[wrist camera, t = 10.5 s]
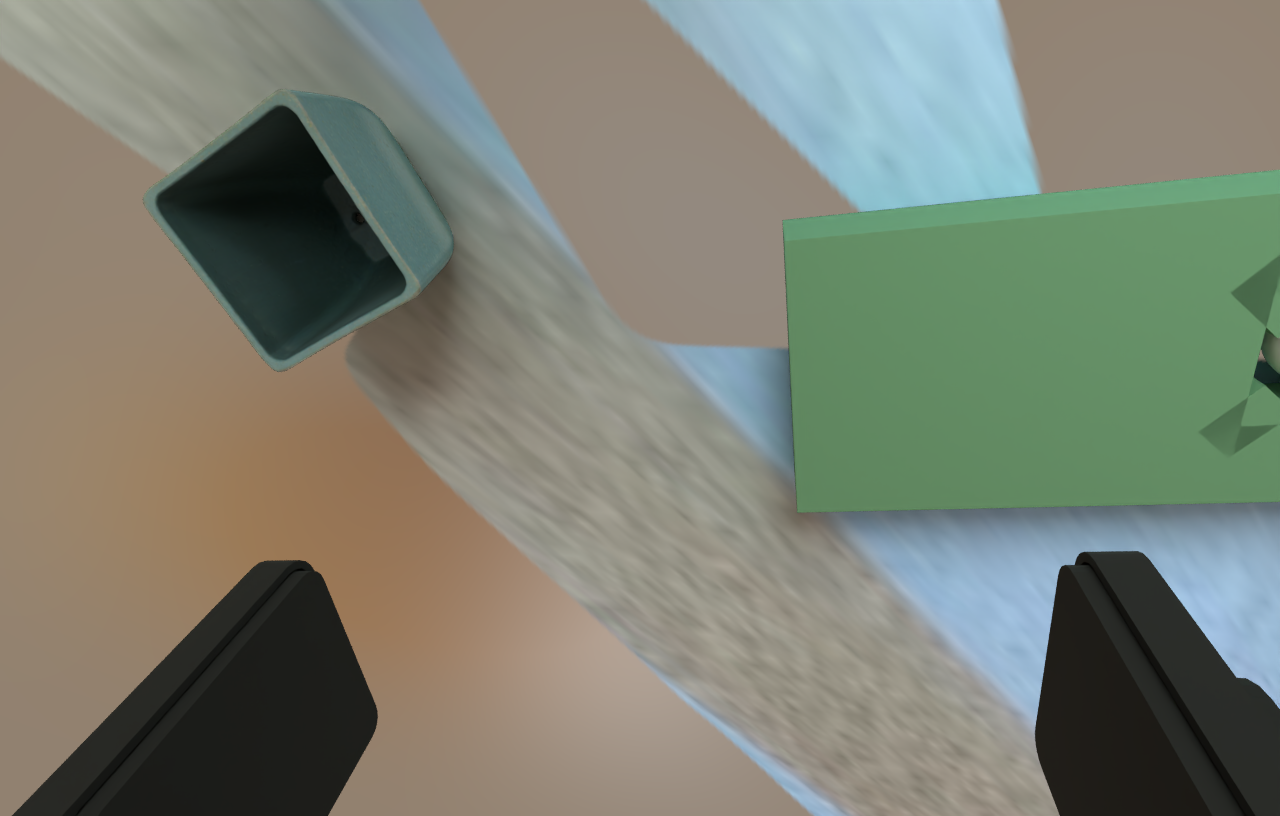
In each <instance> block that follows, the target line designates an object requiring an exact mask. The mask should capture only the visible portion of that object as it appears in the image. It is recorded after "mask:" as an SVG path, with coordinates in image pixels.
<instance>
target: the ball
mask: <svg viewBox="0 0 1280 816" xmlns="http://www.w3.org/2000/svg"><path fill="white" fill-rule="evenodd" d="M1261 350H1262V353H1263V356H1264V358H1265V359H1266V361H1267V362H1268V364H1269V365H1270V366H1271V367H1272V368H1273V369H1274V370H1275V371H1276V372H1278V373H1279V374H1280V337H1279V338H1276V337H1275V336H1273V335H1271V334H1269V333H1268V332H1266V331H1265V334H1264V338H1263V342H1262V346H1261Z"/></svg>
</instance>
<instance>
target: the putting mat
mask: <svg viewBox="0 0 1280 816" xmlns="http://www.w3.org/2000/svg"><path fill="white" fill-rule="evenodd" d="M783 238H784V260H785V279H786V280H785V281H786V300H787V301H786V302H787V321H788V343H789V364H790V385H791V406H792V427H793V448H794V468H795V484H796V499H797V513H801V512H846V511H891V510H936V509H981V508H1026V507H1071V506H1116V505H1162V504H1207V503H1252V502H1280V383H1268V384H1262V383H1261V382H1260V381H1258V380H1257V379H1255V378H1254V373H1255V369H1256V365H1257V361H1258V357H1259V353H1260V350H1261V346H1262V342H1263V338H1264V334H1265V331H1266V332H1268V333H1269V334H1271V335H1273V336H1275V337H1276V338H1279V337H1280V170H1273V171H1264V172H1254V173H1244V174H1234V175H1224V176H1215V177H1205V178H1195V179H1185V180H1174V181H1165V182H1155V183H1145V184H1135V185H1125V186H1116V187H1105V188H1095V189H1085V190H1076V191H1066V192H1056V193H1046V194H1036V195H1026V196H1016V197H1006V198H997V199H987V200H977V201H967V202H957V203H947V204H937V205H927V206H918V207H908V208H898V209H888V210H878V211H868V212H858V213H848V214H839V215H829V216H819V217H809V218H799V219H790V220H783Z"/></svg>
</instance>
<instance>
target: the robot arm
mask: <svg viewBox="0 0 1280 816" xmlns="http://www.w3.org/2000/svg"><path fill="white" fill-rule="evenodd" d="M377 718H378V715H377V708H376V705H375V702H374V700H373V697H372V695H371V692H370V690H369V688H368V685H367V683H366V680H365V678H364V675H363V673H362V671H361V668H360V666H359V664H358V661H357V659H356V656H355V654H354V651H353V649H352V646H351V644H350V642H349V639H348V637H347V634H346V632H345V630H344V627H343V625H342V622H341V620H340V617H339V615H338V613H337V610H336V608H335V605H334V603H333V600H332V598H331V596H330V593H329V591H328V588H327V586H326V583H325V581H324V579H323V577H322V575H321V574H320V573H318V572H316V571H314V569H313V568H312V566H311V565H310V564H309V563H307V562H306V561H300V560H293V561H291V560H290V561H289V560H288V561H264V562H260V563H258V564H257V565H256V566H254V567H253V568H252V569H251V570H250V571H249V572H248V573H247V574H246V575H245V576H244V577H243V578H242V579H241V580H240V582H238V584H237V585H236V586H235V587H234V588H233V589H232V590H231V591H230V592H229V593H228V594H227V595H226V596H225V597H224V598H223V599H222V600H221V601H220V602H219V603H218V604H217V605H216V606H215V607H214V608H213V609H212V610H211V611H210V612H209V613H208V614H207V615H206V616H205V618H204V619H203V620H202V621H201V622H200V623H199V624H198V625H197V626H196V627H195V628H194V629H193V630H192V631H191V632H190V633H189V634H188V635H187V636H186V637H185V638H184V639H183V640H182V641H181V642H180V643H179V644H178V645H177V646H176V647H175V648H174V649H173V650H172V652H171V653H170V654H169V655H168V656H167V657H166V658H165V659H164V660H163V661H162V662H161V663H160V664H159V665H158V666H157V667H156V668H155V669H154V670H153V671H152V672H151V673H150V674H149V675H148V676H147V677H146V678H145V679H144V680H143V682H141V683H140V684H139V685H138V686H137V688H136V689H135V690H134V691H133V692H132V693H131V694H130V695H129V696H128V697H127V698H126V699H125V700H124V701H123V702H122V703H121V704H120V705H119V706H118V707H117V708H116V709H115V710H114V711H113V712H112V713H111V714H110V715H109V716H108V717H107V718H106V719H105V721H104V722H103V723H102V724H101V725H100V726H99V727H98V728H97V729H96V730H95V731H94V732H93V733H92V734H91V735H90V736H89V737H88V738H87V739H86V740H85V741H84V742H83V743H82V744H81V745H80V746H79V747H78V748H77V749H76V750H75V751H74V752H73V754H71V756H70V757H69V758H68V759H67V760H66V761H65V762H64V763H63V764H62V765H61V766H60V767H59V768H58V769H57V770H56V771H55V772H54V773H53V774H52V775H51V776H50V777H49V778H48V779H47V780H46V781H45V782H44V783H43V784H42V785H41V786H40V787H39V788H38V790H37V791H36V792H35V793H34V794H33V795H32V796H31V797H30V798H29V799H28V800H27V801H26V802H25V803H24V804H23V805H22V806H21V807H20V808H19V809H18V810H17V811H16V812H15V813H14V814H13V815H12V816H328V815H329V813H330V811H331V809H332V807H333V806H334V804H335V802H336V800H337V798H338V797H339V795H340V793H341V791H342V790H343V788H344V786H345V784H346V782H347V781H348V779H349V777H350V776H351V774H352V772H353V770H354V768H355V767H356V765H357V763H358V761H359V759H360V758H361V756H362V754H363V752H364V751H365V749H366V747H367V745H368V744H369V742H370V740H371V738H372V736H373V734H374V732H375V729H376V725H377ZM1035 741H1036V748H1037V753H1038V758H1039V761H1040V764H1041V767H1042V770H1043V772H1044V775H1045V778H1046V780H1047V783H1048V786H1049V788H1050V791H1051V793H1052V796H1053V799H1054V801H1055V804H1056V807H1057V809H1058V812H1059V815H1060V816H1280V709H1279V708H1278V707H1277V705H1276V704H1275V703H1274V701H1273V700H1272V699H1271V698H1270V697H1269V696H1268V695H1267V694H1266V693H1265V692H1264V691H1263V689H1262V688H1261V687H1260V686H1258V685H1257V684H1255V683H1253V682H1252V681H1250V680H1248V679H1246V678H1236V676H1235V675H1234V674H1233V672H1232V671H1231V670H1230V668H1229V667H1228V666H1227V664H1226V663H1225V662H1224V660H1223V659H1222V658H1221V656H1220V655H1219V653H1218V652H1217V651H1216V649H1215V648H1214V647H1213V645H1212V644H1211V643H1210V641H1209V640H1208V639H1207V637H1206V636H1205V634H1204V633H1203V632H1202V630H1201V629H1200V628H1199V626H1198V625H1197V624H1196V622H1195V621H1194V620H1193V618H1192V617H1191V615H1190V614H1189V613H1188V611H1187V610H1186V609H1185V607H1184V606H1183V605H1182V603H1181V602H1180V601H1179V599H1178V598H1177V597H1176V595H1175V594H1174V592H1173V591H1172V590H1171V588H1170V587H1169V586H1168V584H1167V583H1166V582H1165V580H1164V579H1163V578H1162V576H1161V575H1160V573H1159V572H1158V571H1157V569H1156V568H1155V567H1154V565H1153V564H1152V563H1151V561H1150V560H1149V559H1148V558H1147V557H1146V556H1145V555H1144V554H1143V553H1140V552H1138V551H1123V552H1083V553H1080V554H1079V556H1078V557H1077V559H1076V562H1075V565H1064V566H1062V567H1061V569H1060V571H1059V575H1058V580H1057V587H1056V594H1055V600H1054V607H1053V614H1052V620H1051V627H1050V634H1049V641H1048V647H1047V654H1046V661H1045V667H1044V674H1043V681H1042V687H1041V694H1040V701H1039V707H1038V714H1037V721H1036V727H1035Z"/></svg>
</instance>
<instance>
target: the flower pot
mask: <svg viewBox="0 0 1280 816" xmlns="http://www.w3.org/2000/svg"><path fill="white" fill-rule="evenodd" d="M143 204H144V206H145V208H146V209H147V210H148V212H149V213H150V215H151V216H152V217H153V219H154V221H155V222H156V223H157V224H158V225H159V227H160V228H161V229H162V230H163V232H164V233H165V234H166V235H167V237H168V238H169V239H170V240H171V241H172V243H173V244H174V246H175V247H176V248H177V249H178V250H179V252H180V253H181V254H182V256H183V257H184V258H185V259H186V261H187V262H188V263H189V265H190V266H191V267H192V269H193V270H194V271H195V272H196V274H197V275H198V276H199V277H200V279H201V280H202V281H203V282H204V284H205V285H206V286H207V288H208V289H209V290H210V292H211V293H212V294H213V295H214V296H215V298H216V300H217V301H218V302H219V303H220V304H221V306H222V307H223V308H224V310H225V311H226V312H227V313H228V315H229V316H230V318H231V319H232V320H233V322H234V323H235V324H236V326H237V327H238V328H239V329H240V330H241V331H242V333H243V334H244V335H245V337H246V338H247V339H248V341H249V342H250V344H251V345H252V346H253V348H254V349H255V350H256V352H257V353H258V354H259V355H260V356H261V358H262V359H263V360H264V361H265V362H266V363H267V364H268V365H269V366H270V367H271V368H272V369H273V370H274V371H277V372H282V371H286V370H288V369H290V368H292V367H294V366H295V365H297V364H299V363H300V362H302V361H304V360H305V359H307V358H309V357H311V356H312V355H314V354H316V353H317V352H318V351H320V350H322V349H324V348H326V347H327V346H329V345H331V344H332V343H334V342H336V341H338V340H340V339H341V338H343V337H345V336H347V335H348V334H350V333H352V332H354V331H356V330H357V329H359V328H361V327H363V326H365V325H367V324H368V323H370V322H372V321H374V320H376V319H377V318H379V317H381V316H383V315H385V314H387V313H388V312H390V311H392V310H394V309H395V308H397V307H399V306H401V305H403V304H405V303H407V302H409V301H411V300H412V299H414V298H415V297H417V296H418V295H419V294H420V293H421V292H422V291H423V290H424V289H425V287H426V286H427V285H428V284H429V283H430V282H431V281H432V280H433V279H434V278H435V277H436V275H437V274H438V273H439V272H440V271H441V270H442V269H443V268H444V266H445V265H446V264H447V263H448V261H449V260H450V258H451V255H452V253H453V247H454V241H453V235H452V232H451V229H450V227H449V225H448V223H447V221H446V219H445V217H444V216H443V214H442V212H441V211H440V209H439V208H438V206H437V205H436V203H435V201H434V200H433V198H432V197H431V195H430V193H429V192H428V190H427V189H426V187H425V186H424V184H423V183H422V181H421V179H420V178H419V176H418V175H417V173H416V171H415V170H414V168H413V167H412V165H411V163H410V162H409V160H408V158H407V157H406V155H405V154H404V152H403V150H402V149H401V147H400V146H399V144H398V143H397V141H396V140H395V138H394V137H393V135H392V134H391V132H390V131H389V130H388V128H387V127H386V126H385V124H384V123H383V122H382V121H381V120H380V119H379V118H378V117H377V116H376V115H375V114H374V113H373V112H372V111H370V110H369V109H368V108H366V107H364V106H363V105H361V104H359V103H357V102H355V101H352V100H349V99H346V98H341V97H336V96H330V95H323V94H316V93H309V92H301V91H294V90H287V89H280V90H277V91H275V92H274V93H273V94H271V95H270V96H269V97H267V98H266V99H264V100H263V101H262V102H261V103H260V104H259V105H258V106H256V107H255V108H254V109H253V110H251V111H250V112H249V113H248V114H246V115H245V116H244V117H242V118H241V119H240V120H239V121H238V122H237V123H235V124H234V125H233V126H231V127H230V128H229V129H227V130H226V131H225V132H224V133H223V134H221V135H220V136H219V137H217V138H216V139H215V140H213V141H212V142H210V143H209V144H208V145H207V146H206V147H204V148H203V149H202V150H201V151H199V152H198V153H197V154H195V155H194V156H193V157H191V158H190V159H189V160H188V161H186V162H185V163H183V164H182V165H181V166H180V167H178V168H177V169H175V170H174V171H173V172H171V173H170V174H169V175H167V176H166V177H164V178H163V179H161V180H160V181H158V182H157V183H155V184H154V185H153V186H151V187H150V188H149V189H148V190H147V192H146V193H145V194H144V197H143ZM357 213H359V214H361V215H362V216H363V217H364V222H363V223H360V222H359V221H358V220H357V219H356V214H357Z"/></svg>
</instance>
